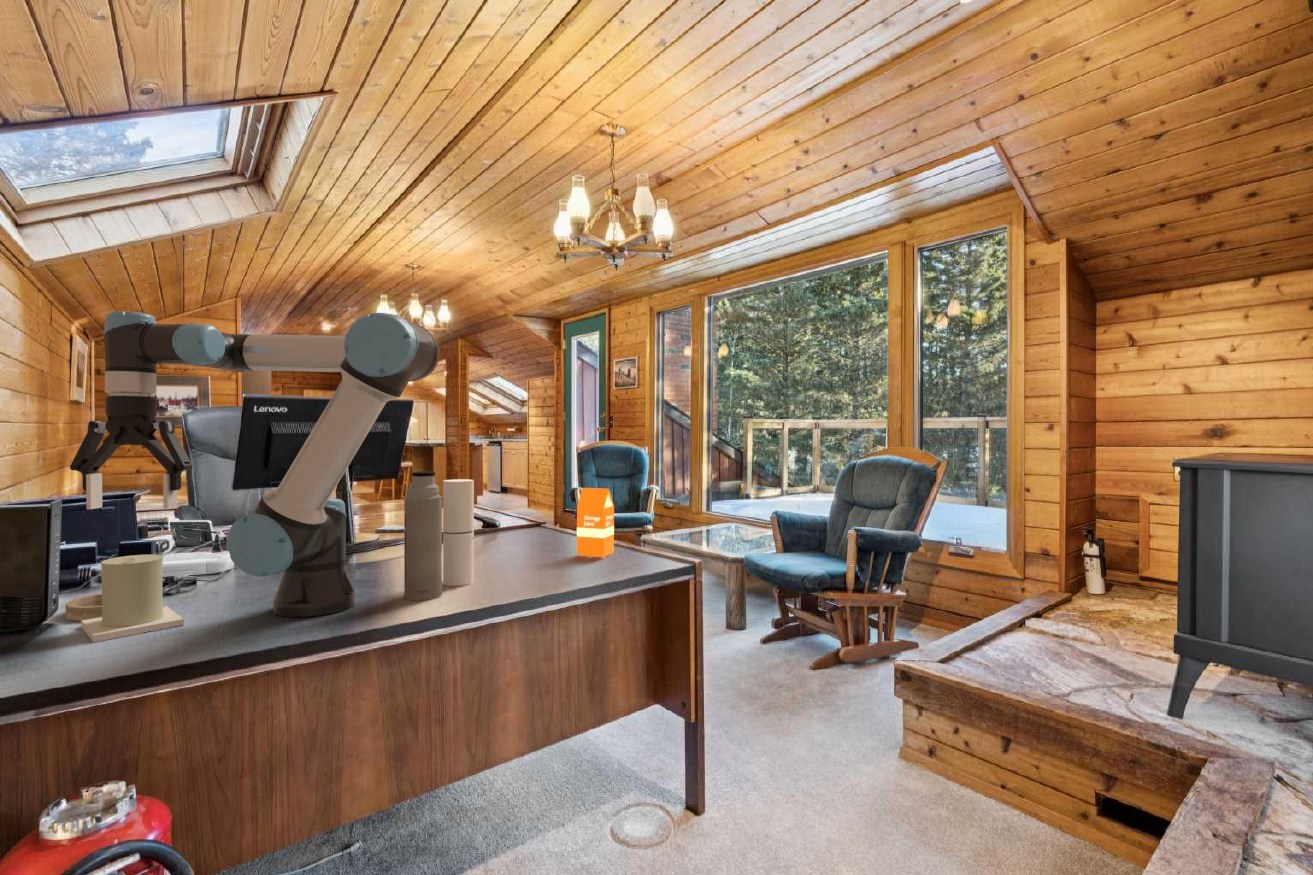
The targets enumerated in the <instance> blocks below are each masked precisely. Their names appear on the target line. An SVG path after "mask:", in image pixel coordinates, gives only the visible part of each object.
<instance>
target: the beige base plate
mask: <svg viewBox="0 0 1313 875" xmlns="http://www.w3.org/2000/svg"><path fill="white" fill-rule="evenodd" d="M163 613H164V616H163V617H162V618H160V619H158V620H155V621H152V622H148V623H144V624H139V625H133V626H125V627H105V626H102V625H101V621H102V617H99V618H93V619H87V620H81V621H80V622H81V624H80V625H81V628H82V629H83V630H84V632H85V634H86V635H87V636H88V637H89V639H90V640H91V641H92V643H97V642H103V641H108V640H113V639H119V638H123V637H124V636H125V637H129V636H134V635H140V634H139V633H141V634H144V633H143V632H146V633H149V632H148V631H151V632H156V631H160V629H162V630H166V629H165V628H167V629H171V628H170V627H172V628H175V627H174V626H178V627H180V626H179V625H183V626H184V625H185V623H184V622H185V619H184V618H183V617H182V616H180V615H179V614H178V613H176V612H175V611H173V609H171V608H170V607H168V606H163Z"/></svg>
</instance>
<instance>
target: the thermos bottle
mask: <svg viewBox="0 0 1313 875" xmlns="http://www.w3.org/2000/svg"><path fill="white" fill-rule="evenodd" d="M411 476H412V478H411V484H410V485H409V486H408V487H407V490H406V493H407V495H406V496H404V503H403V504H404V505H403V508H404V509H403V510H404V512H403V513H404V515H403V517H404V520H403V521H404V522H403V523H404V526H403V527H404V532H403V533H404V537H403V538H404V545H403V546H404V548H403V549H404V553H403V554H404V556H403V557H404V559H403V560H404V561H403V562H404V565H403V566H404V568H403V569H404V578H403V579H404V581H403V582H404V583H403V584H404V587H403V590H404V591H403V593H404V597H403V598H404V599H406V600H409V601H426V600H427V601H428V600H434V599H436V598H439V597H440V596H442V594H443V495H440V487H439V485H437V484H436V481H435V480H436V479H435V476H436V472H435V471H426V470H425V471H424V470H423V471H414V472H413V471H412V472H411Z"/></svg>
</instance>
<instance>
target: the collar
mask: <svg viewBox="0 0 1313 875" xmlns="http://www.w3.org/2000/svg"><path fill="white" fill-rule="evenodd" d="M64 608H65V617H66V619H67V620H68V621H70V620H71V621H79V622H81V620H87V619H93V618H99V617H102V593H96V594H91V595H87V596H83V597H78V598H74V599H72V600H70V601H68V602H66V603H65V607H64Z"/></svg>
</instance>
